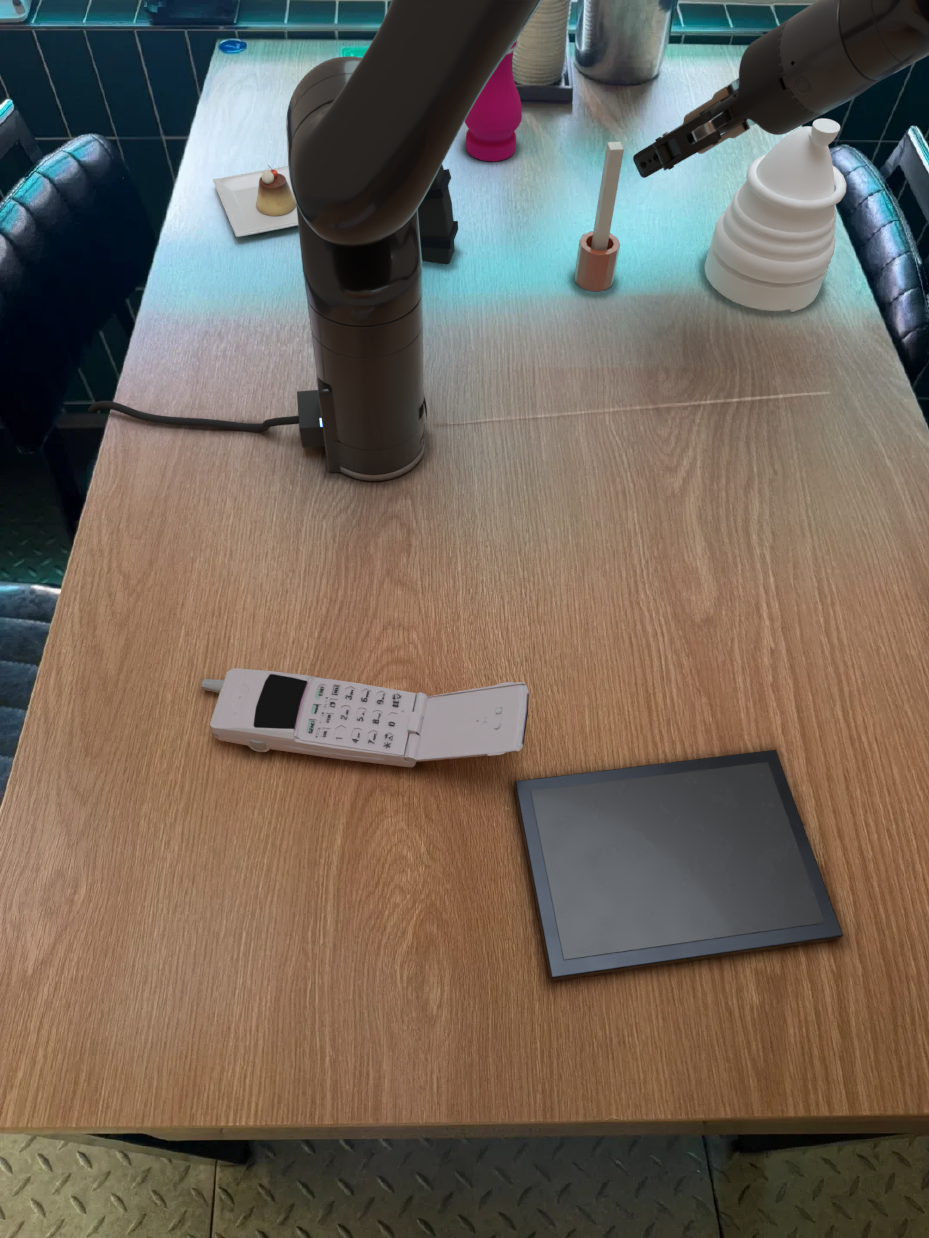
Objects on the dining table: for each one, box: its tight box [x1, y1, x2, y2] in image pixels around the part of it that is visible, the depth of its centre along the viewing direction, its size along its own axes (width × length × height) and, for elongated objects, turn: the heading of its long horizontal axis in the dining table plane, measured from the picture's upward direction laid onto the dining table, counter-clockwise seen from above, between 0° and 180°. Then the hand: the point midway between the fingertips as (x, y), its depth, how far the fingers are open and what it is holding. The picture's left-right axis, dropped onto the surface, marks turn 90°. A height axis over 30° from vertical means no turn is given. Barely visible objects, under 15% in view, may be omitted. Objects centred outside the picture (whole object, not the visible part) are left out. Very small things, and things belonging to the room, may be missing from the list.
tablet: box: [513, 749, 844, 982], centre depth 67 cm, size 20×14×1 cm
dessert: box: [212, 164, 298, 238], centre depth 109 cm, size 12×12×5 cm
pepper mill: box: [464, 37, 523, 162], centre depth 111 cm, size 7×7×20 cm
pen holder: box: [573, 230, 621, 292], centre depth 102 cm, size 4×4×5 cm
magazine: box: [418, 164, 459, 265], centre depth 102 cm, size 4×13×15 cm, turn 77°
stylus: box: [591, 141, 625, 251], centre depth 98 cm, size 1×1×15 cm
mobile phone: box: [201, 667, 530, 768], centre depth 70 cm, size 6×6×25 cm
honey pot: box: [703, 118, 847, 313], centre depth 98 cm, size 13×13×18 cm
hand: (665, 148), depth 88 cm, fingers open, 8 cm apart
